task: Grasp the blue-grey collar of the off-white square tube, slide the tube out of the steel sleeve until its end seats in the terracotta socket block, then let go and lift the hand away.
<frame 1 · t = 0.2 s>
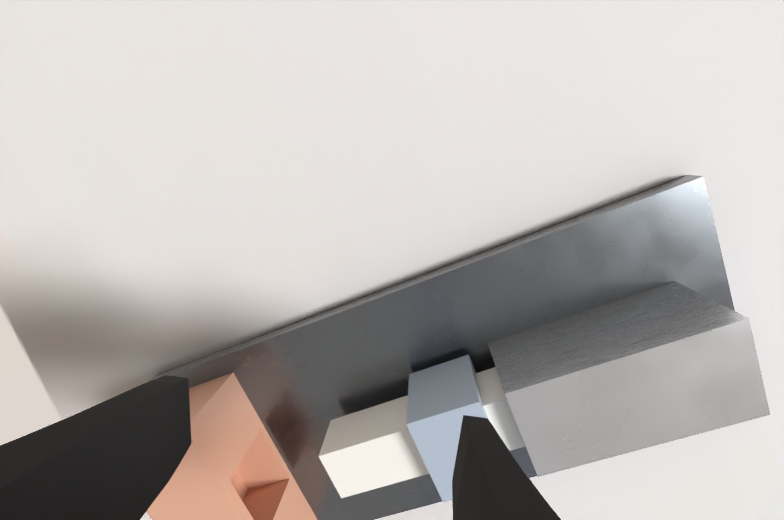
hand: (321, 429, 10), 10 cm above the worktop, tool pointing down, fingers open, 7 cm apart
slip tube: (500, 410, 17), point 3 cm above the worktop, slide at 0.0 cm
socket block: (227, 491, 19), point 3 cm above the worktop
sleeve base: (398, 399, 21), on the worktop
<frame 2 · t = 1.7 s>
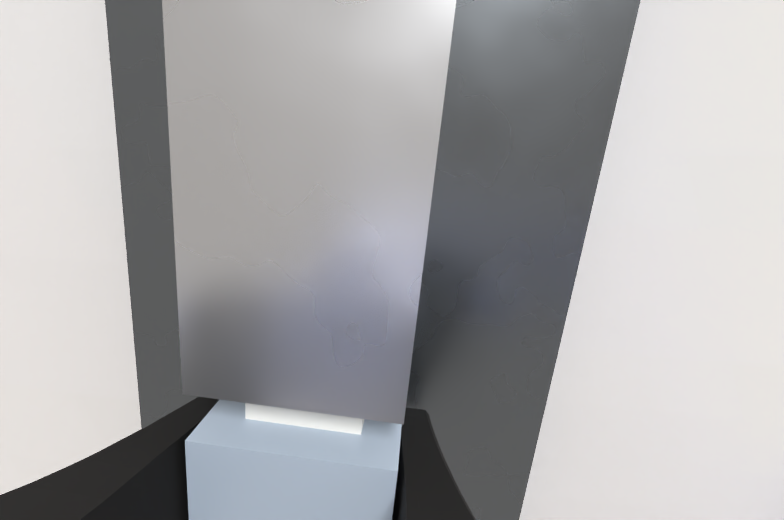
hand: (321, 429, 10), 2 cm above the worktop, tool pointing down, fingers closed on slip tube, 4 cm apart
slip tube: (316, 378, 9), point 3 cm above the worktop, slide at 0.0 cm, touching gripper
sleeve base: (335, 456, 13), on the worktop
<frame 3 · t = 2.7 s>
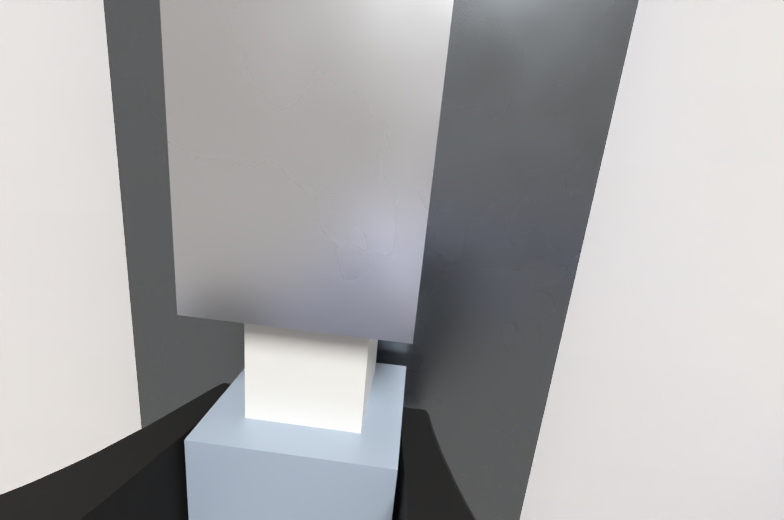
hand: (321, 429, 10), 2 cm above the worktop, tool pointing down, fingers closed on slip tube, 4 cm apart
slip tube: (316, 377, 9), point 3 cm above the worktop, slide at 1.5 cm, touching gripper
sleeve base: (337, 417, 13), on the worktop
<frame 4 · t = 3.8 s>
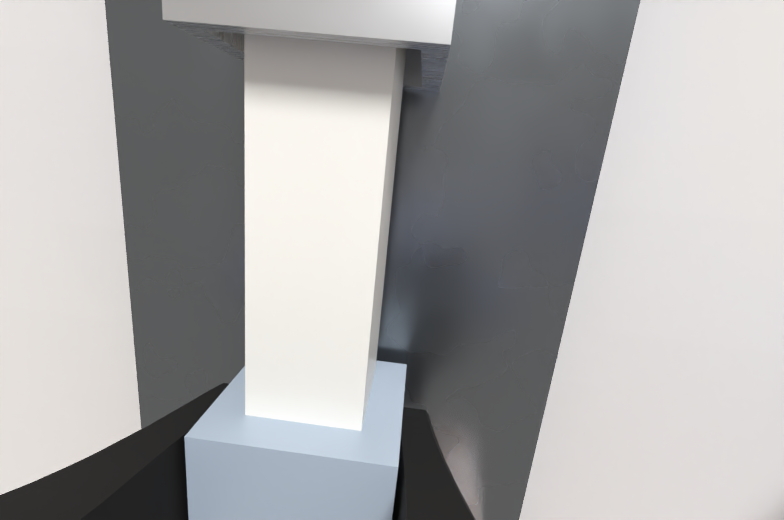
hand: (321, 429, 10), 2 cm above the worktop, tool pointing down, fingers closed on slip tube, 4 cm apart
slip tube: (316, 374, 9), point 3 cm above the worktop, slide at 5.9 cm, touching gripper
sleeve base: (346, 289, 12), on the worktop
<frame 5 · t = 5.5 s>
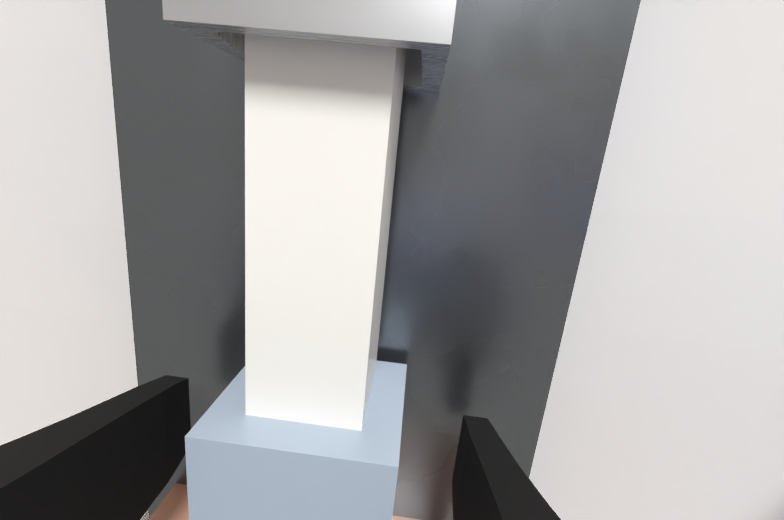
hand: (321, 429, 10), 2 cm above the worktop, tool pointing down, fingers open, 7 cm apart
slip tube: (317, 374, 9), point 3 cm above the worktop, slide at 5.9 cm
sleeve base: (346, 289, 12), on the worktop
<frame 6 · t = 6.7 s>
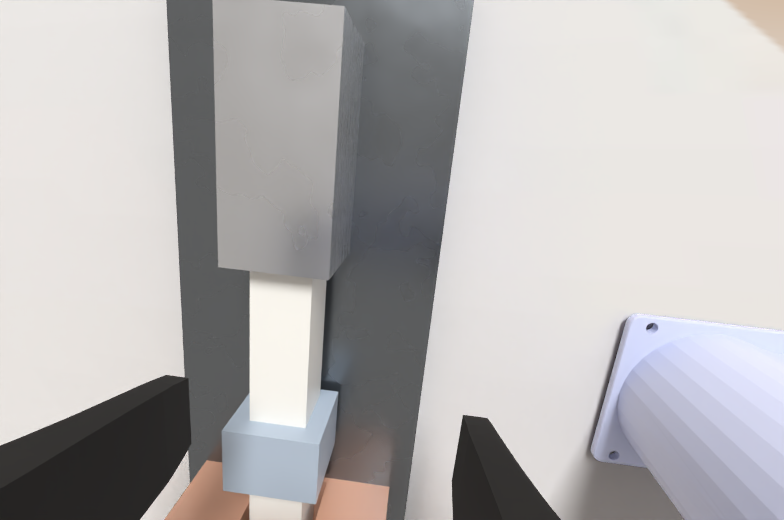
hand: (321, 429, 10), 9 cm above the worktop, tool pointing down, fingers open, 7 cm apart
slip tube: (285, 399, 17), point 3 cm above the worktop, slide at 5.9 cm
sleeve base: (307, 347, 20), on the worktop
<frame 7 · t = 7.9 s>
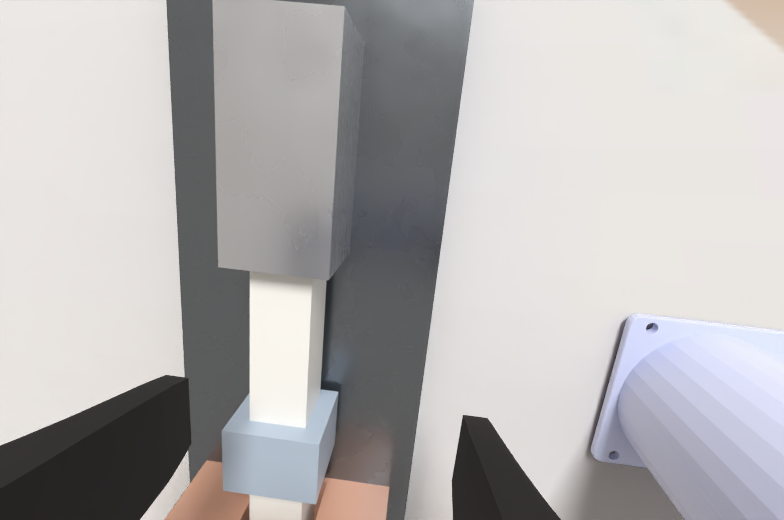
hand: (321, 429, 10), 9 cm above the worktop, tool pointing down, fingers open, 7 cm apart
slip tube: (285, 399, 17), point 3 cm above the worktop, slide at 5.9 cm
sleeve base: (307, 347, 20), on the worktop
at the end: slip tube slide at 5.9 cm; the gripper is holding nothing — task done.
